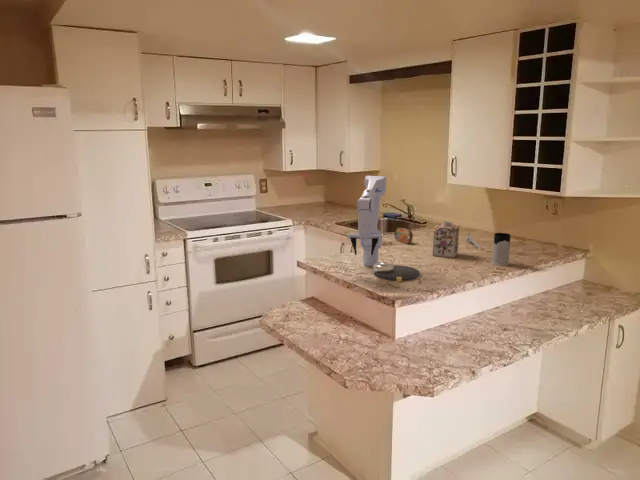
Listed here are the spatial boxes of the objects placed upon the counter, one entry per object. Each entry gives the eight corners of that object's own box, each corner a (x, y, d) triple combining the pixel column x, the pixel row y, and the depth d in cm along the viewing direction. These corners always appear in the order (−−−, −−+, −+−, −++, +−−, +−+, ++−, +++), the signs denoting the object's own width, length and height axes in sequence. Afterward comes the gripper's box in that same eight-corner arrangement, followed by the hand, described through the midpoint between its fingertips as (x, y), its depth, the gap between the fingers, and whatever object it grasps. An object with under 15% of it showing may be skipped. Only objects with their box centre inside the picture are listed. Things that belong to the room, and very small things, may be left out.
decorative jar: (458, 253, 268) (460, 221, 264) (454, 258, 257) (456, 224, 254) (436, 251, 273) (437, 219, 269) (431, 255, 262) (433, 222, 259)
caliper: (465, 242, 297) (466, 232, 296) (467, 242, 297) (468, 232, 296) (480, 250, 277) (481, 239, 276) (482, 250, 277) (483, 239, 276)
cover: (372, 267, 227) (373, 260, 226) (392, 268, 227) (392, 260, 226) (373, 273, 218) (374, 265, 218) (394, 273, 218) (394, 265, 217)
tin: (393, 240, 301) (394, 226, 299) (398, 239, 303) (398, 226, 301) (409, 245, 288) (409, 230, 286) (413, 244, 290) (414, 230, 288)
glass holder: (494, 265, 243) (496, 236, 240) (484, 258, 257) (487, 230, 254) (511, 266, 243) (514, 236, 240) (501, 259, 257) (504, 230, 254)
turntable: (373, 267, 233) (373, 264, 233) (416, 268, 232) (416, 265, 231) (375, 281, 211) (375, 277, 211) (422, 282, 210) (423, 279, 210)
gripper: (348, 226, 215) (347, 256, 218) (381, 226, 214) (380, 257, 217) (348, 223, 222) (347, 252, 225) (380, 224, 221) (379, 253, 224)
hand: (363, 254), depth 222 cm, fingers open, 7 cm apart
